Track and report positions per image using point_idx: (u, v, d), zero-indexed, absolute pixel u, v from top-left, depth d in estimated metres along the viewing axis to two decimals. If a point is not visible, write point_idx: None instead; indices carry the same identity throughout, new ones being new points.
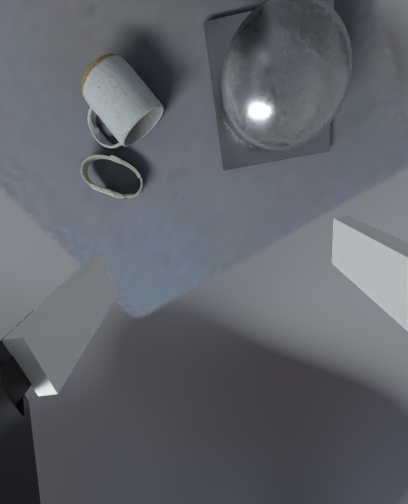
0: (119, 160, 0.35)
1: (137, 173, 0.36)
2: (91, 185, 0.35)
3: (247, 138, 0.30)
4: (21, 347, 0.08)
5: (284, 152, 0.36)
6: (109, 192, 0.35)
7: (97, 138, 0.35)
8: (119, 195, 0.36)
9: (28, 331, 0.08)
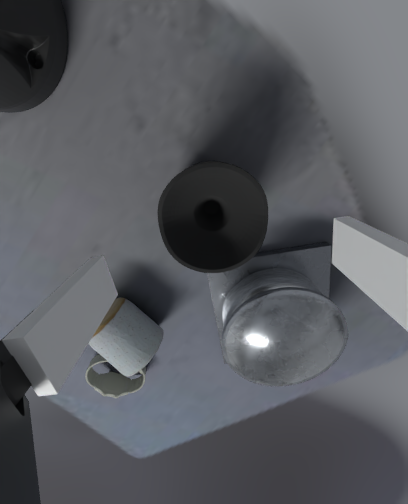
0: None
1: (140, 370, 0.37)
2: (96, 389, 0.36)
3: (247, 378, 0.31)
4: (21, 347, 0.08)
5: None
6: (113, 396, 0.36)
7: None
8: (123, 393, 0.37)
9: (28, 331, 0.08)
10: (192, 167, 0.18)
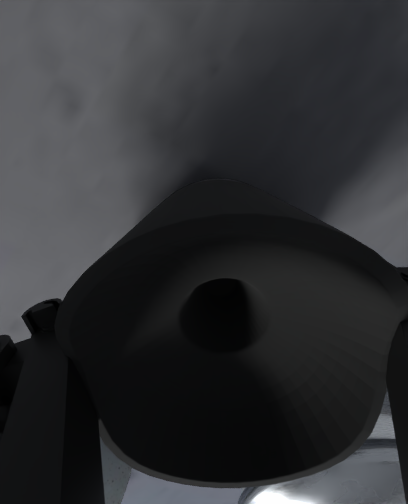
0: None
1: None
2: None
3: None
4: None
5: None
6: None
7: None
8: None
9: None
10: (156, 233, 0.04)
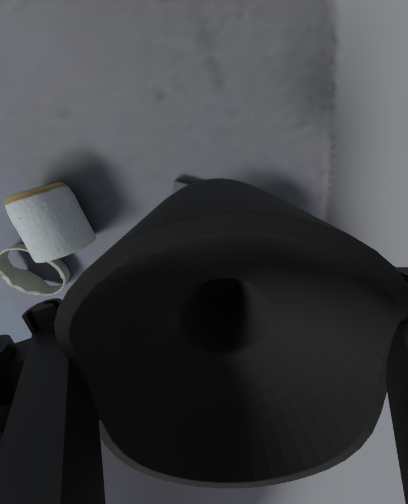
0: None
1: (62, 274, 0.34)
2: (4, 277, 0.32)
3: None
4: None
5: None
6: (22, 290, 0.33)
7: None
8: (34, 292, 0.34)
9: None
10: (157, 232, 0.04)
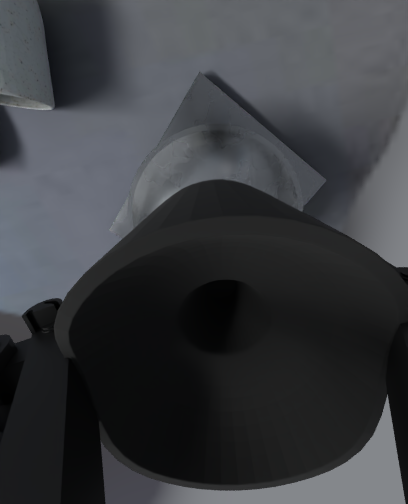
0: None
1: None
2: None
3: None
4: None
5: None
6: None
7: None
8: None
9: None
10: (156, 235, 0.04)
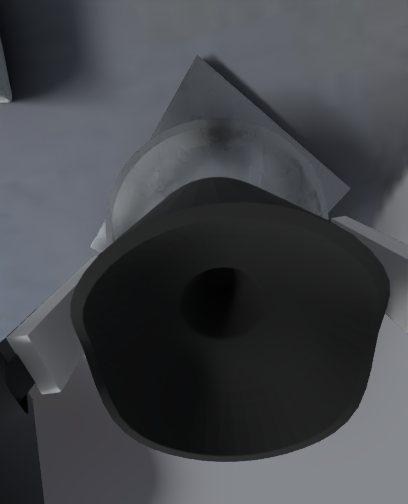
0: None
1: None
2: None
3: None
4: (25, 345, 0.08)
5: None
6: None
7: None
8: None
9: (32, 329, 0.08)
10: (162, 219, 0.05)
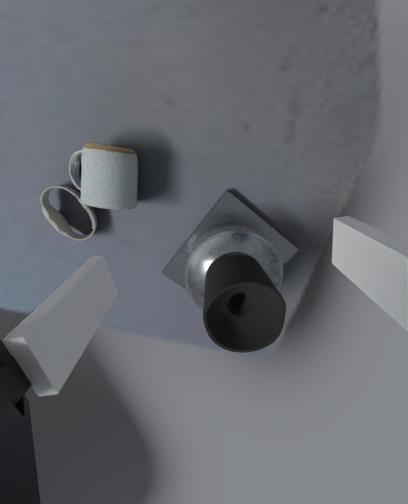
0: (85, 206, 0.36)
1: (93, 225, 0.38)
2: (43, 209, 0.35)
3: (186, 284, 0.36)
4: (21, 347, 0.08)
5: None
6: (55, 226, 0.35)
7: (71, 168, 0.35)
8: (64, 232, 0.36)
9: (28, 331, 0.08)
10: (234, 285, 0.25)
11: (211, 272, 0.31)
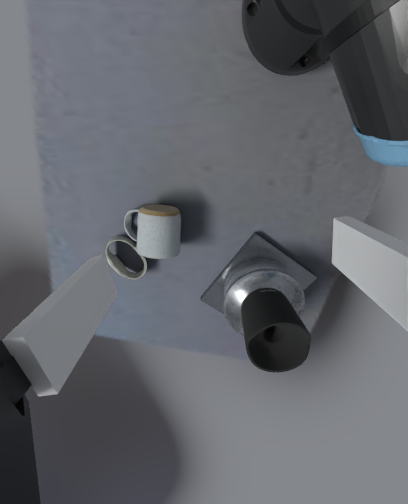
0: None
1: (145, 266, 0.46)
2: (108, 258, 0.43)
3: (225, 313, 0.44)
4: (21, 347, 0.08)
5: None
6: (118, 271, 0.44)
7: (125, 222, 0.43)
8: (123, 274, 0.45)
9: (28, 331, 0.08)
10: (271, 324, 0.32)
11: (248, 307, 0.39)
